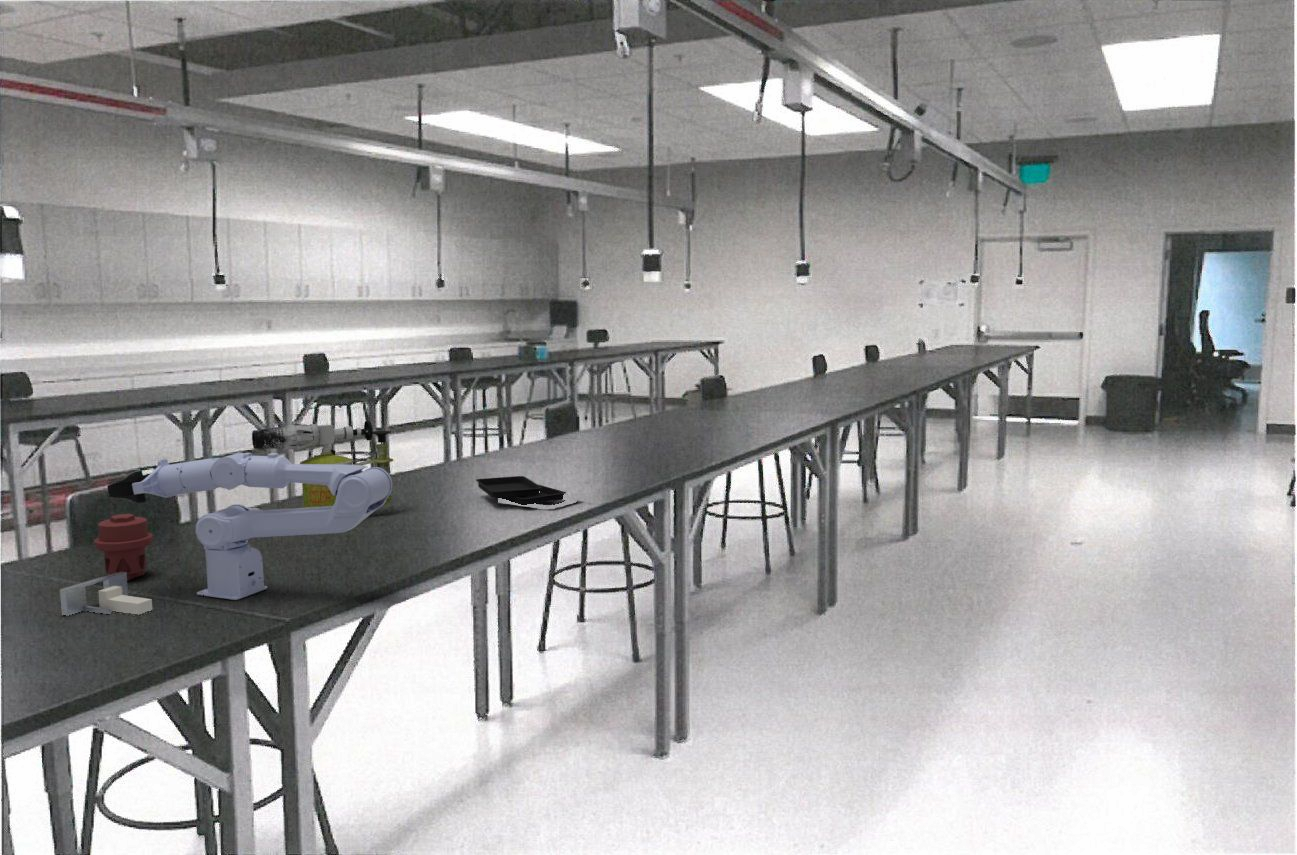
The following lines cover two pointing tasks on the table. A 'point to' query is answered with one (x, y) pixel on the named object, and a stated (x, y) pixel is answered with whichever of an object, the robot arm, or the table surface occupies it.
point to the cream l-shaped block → (123, 601)
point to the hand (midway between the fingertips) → (123, 487)
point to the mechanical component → (124, 544)
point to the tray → (519, 490)
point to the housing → (76, 594)
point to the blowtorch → (321, 435)
